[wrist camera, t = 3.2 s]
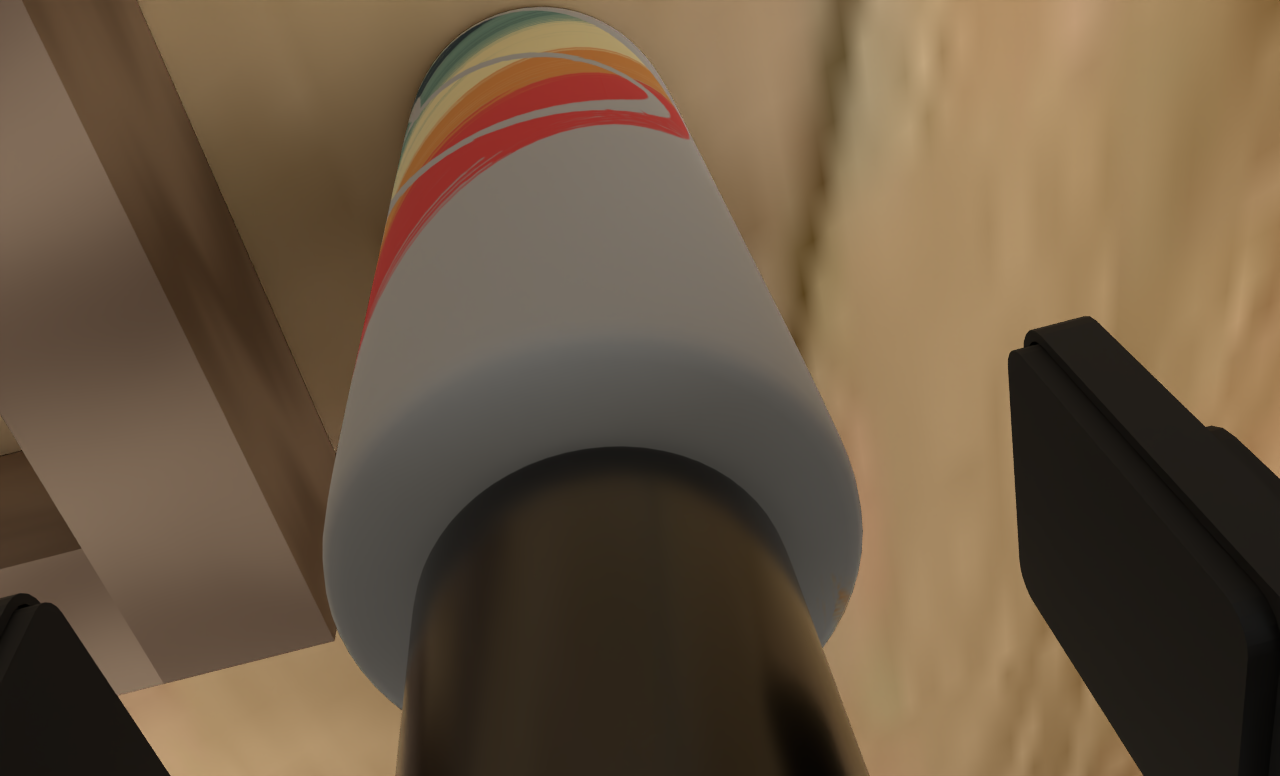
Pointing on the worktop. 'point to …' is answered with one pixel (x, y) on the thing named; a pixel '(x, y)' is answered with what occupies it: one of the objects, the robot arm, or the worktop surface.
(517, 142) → the lotion bottle
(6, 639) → the robot arm
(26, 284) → the holder
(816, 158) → the worktop surface
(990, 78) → the worktop surface
